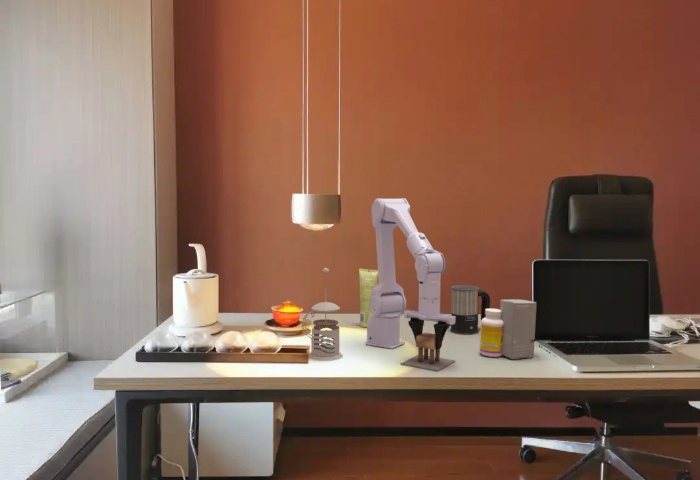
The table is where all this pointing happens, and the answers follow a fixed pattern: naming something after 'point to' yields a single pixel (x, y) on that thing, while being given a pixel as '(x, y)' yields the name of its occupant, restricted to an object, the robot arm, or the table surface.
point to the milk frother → (467, 308)
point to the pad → (428, 363)
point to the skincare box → (518, 328)
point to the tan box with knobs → (427, 347)
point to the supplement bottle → (491, 333)
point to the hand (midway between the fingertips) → (428, 347)
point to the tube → (366, 293)
